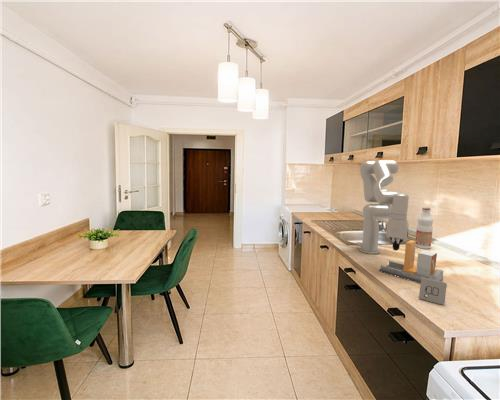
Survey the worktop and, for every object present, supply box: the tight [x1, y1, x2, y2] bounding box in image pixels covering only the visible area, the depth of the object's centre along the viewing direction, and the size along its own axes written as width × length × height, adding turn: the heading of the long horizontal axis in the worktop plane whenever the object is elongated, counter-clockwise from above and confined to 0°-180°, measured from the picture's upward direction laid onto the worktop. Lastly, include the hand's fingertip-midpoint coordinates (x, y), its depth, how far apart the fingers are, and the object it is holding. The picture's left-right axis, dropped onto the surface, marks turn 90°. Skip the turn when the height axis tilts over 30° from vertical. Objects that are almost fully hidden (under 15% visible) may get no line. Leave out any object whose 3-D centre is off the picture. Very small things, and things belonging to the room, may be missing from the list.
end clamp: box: [403, 239, 417, 274], centre depth 147 cm, size 6×9×17 cm, turn 132°
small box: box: [416, 249, 438, 278], centre depth 143 cm, size 8×6×13 cm
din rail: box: [379, 260, 444, 284], centre depth 148 cm, size 26×14×5 cm, turn 42°
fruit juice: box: [415, 207, 434, 250], centre depth 197 cm, size 9×9×28 cm
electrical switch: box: [418, 278, 448, 306], centre depth 122 cm, size 9×5×9 cm, turn 52°
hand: (395, 249), depth 153 cm, fingers closed
